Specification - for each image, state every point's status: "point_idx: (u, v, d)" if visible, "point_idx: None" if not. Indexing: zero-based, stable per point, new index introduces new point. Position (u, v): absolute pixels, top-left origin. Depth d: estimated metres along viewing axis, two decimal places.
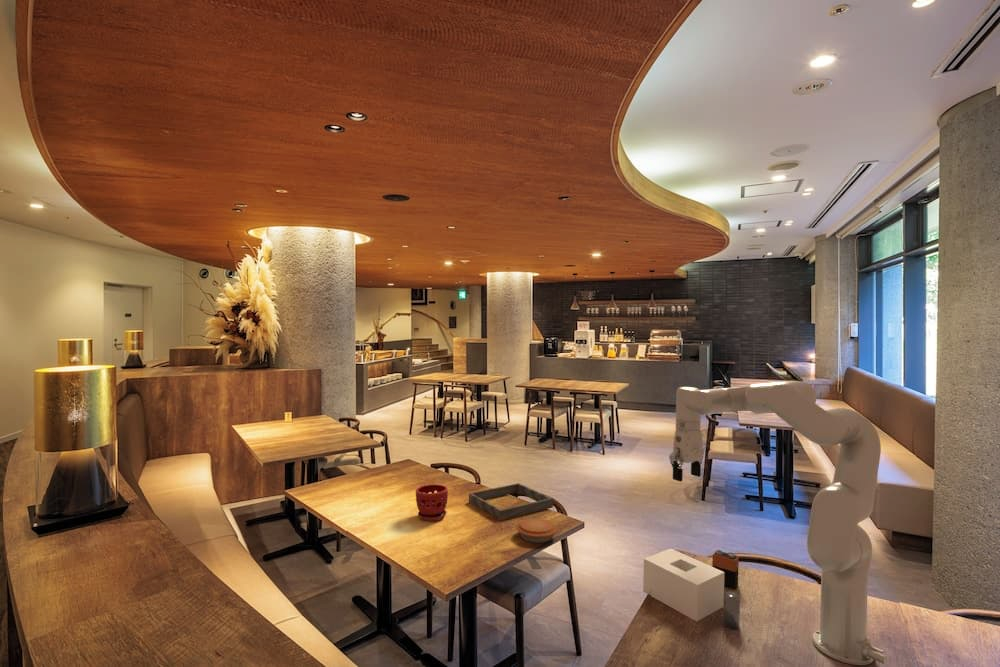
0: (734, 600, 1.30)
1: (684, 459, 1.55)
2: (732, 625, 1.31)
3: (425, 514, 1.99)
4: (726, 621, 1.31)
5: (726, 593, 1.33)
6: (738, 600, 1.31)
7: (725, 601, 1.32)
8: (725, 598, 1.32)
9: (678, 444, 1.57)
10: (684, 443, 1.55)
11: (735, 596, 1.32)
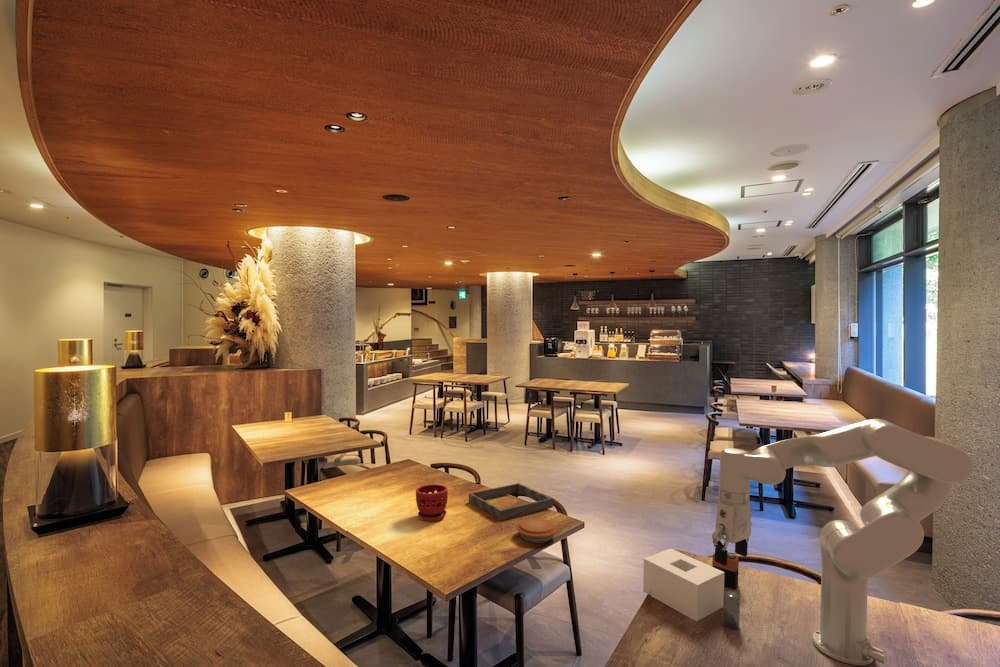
0: (734, 600, 1.30)
1: (730, 539, 1.28)
2: (732, 625, 1.31)
3: (425, 514, 1.99)
4: (726, 621, 1.31)
5: (726, 593, 1.33)
6: (738, 600, 1.31)
7: (725, 601, 1.32)
8: (725, 598, 1.32)
9: (722, 520, 1.29)
10: (730, 520, 1.28)
11: (735, 596, 1.32)
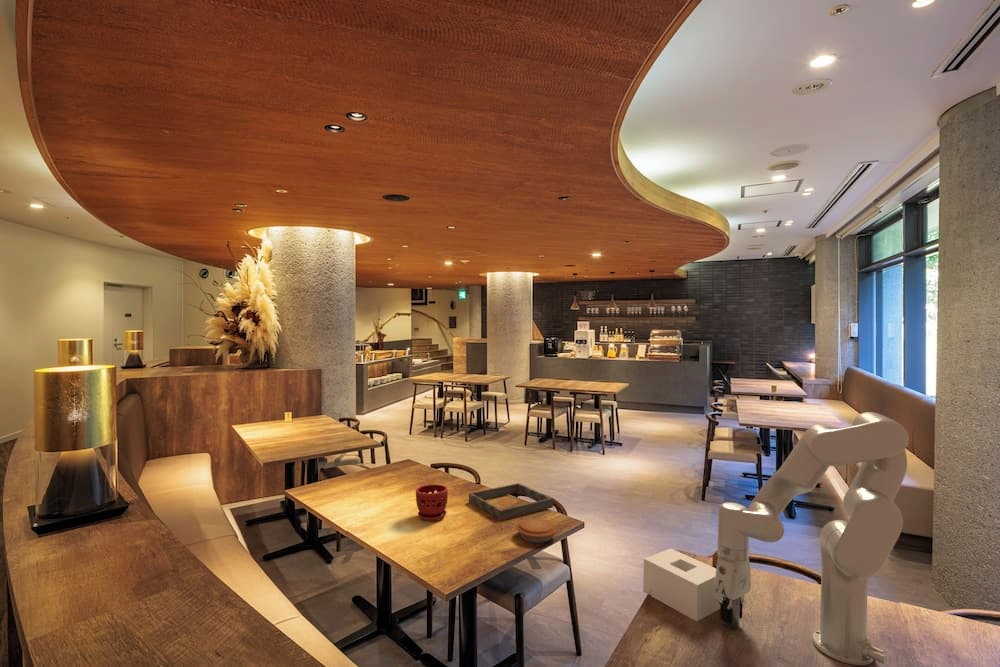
0: (734, 600, 1.30)
1: (730, 596, 1.28)
2: (732, 625, 1.31)
3: (425, 514, 1.99)
4: None
5: None
6: (738, 600, 1.31)
7: None
8: (725, 598, 1.32)
9: (721, 576, 1.29)
10: (730, 577, 1.28)
11: None
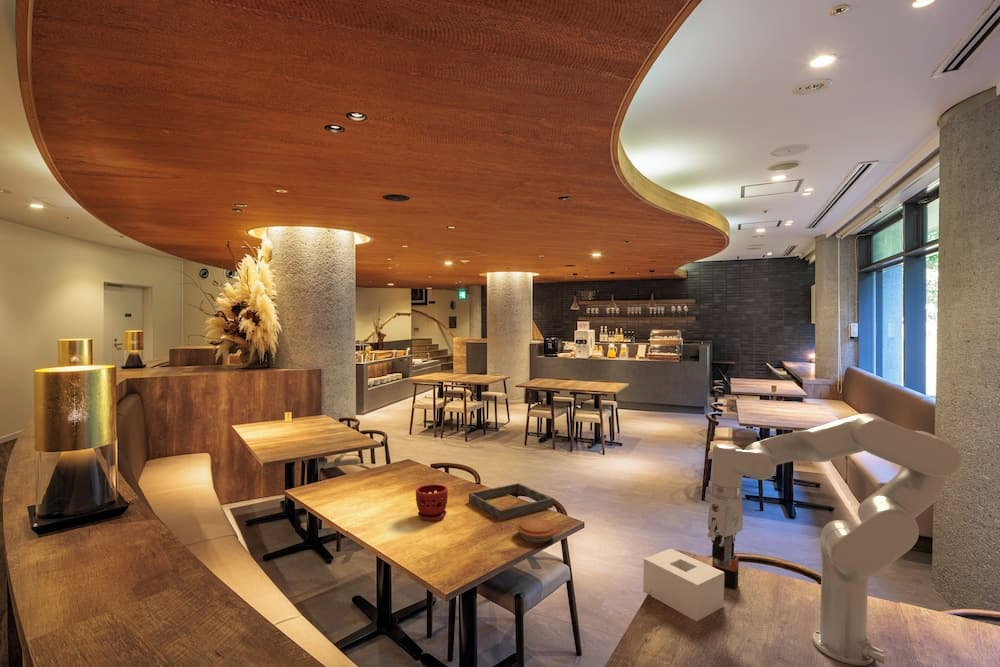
0: (726, 537, 1.32)
1: (722, 533, 1.29)
2: (724, 562, 1.32)
3: (425, 514, 1.99)
4: None
5: None
6: (730, 538, 1.33)
7: None
8: (717, 536, 1.34)
9: (714, 514, 1.31)
10: (722, 514, 1.30)
11: None
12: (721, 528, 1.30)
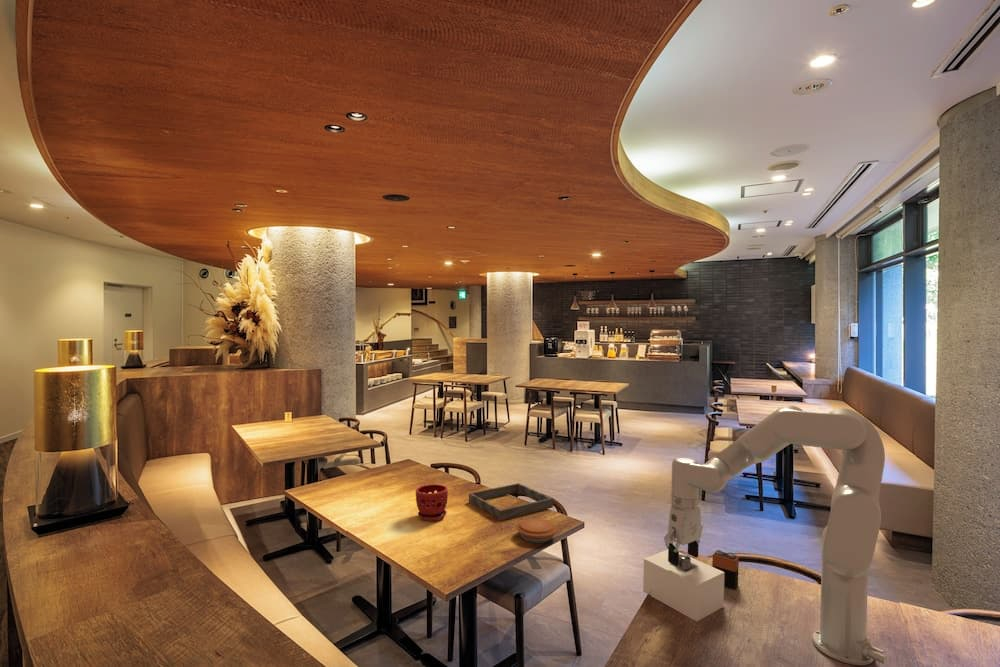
0: (685, 561, 1.43)
1: (680, 541, 1.40)
2: None
3: (425, 514, 1.99)
4: None
5: None
6: (688, 561, 1.43)
7: None
8: None
9: (673, 524, 1.42)
10: (680, 523, 1.40)
11: (686, 558, 1.44)
12: (679, 537, 1.40)
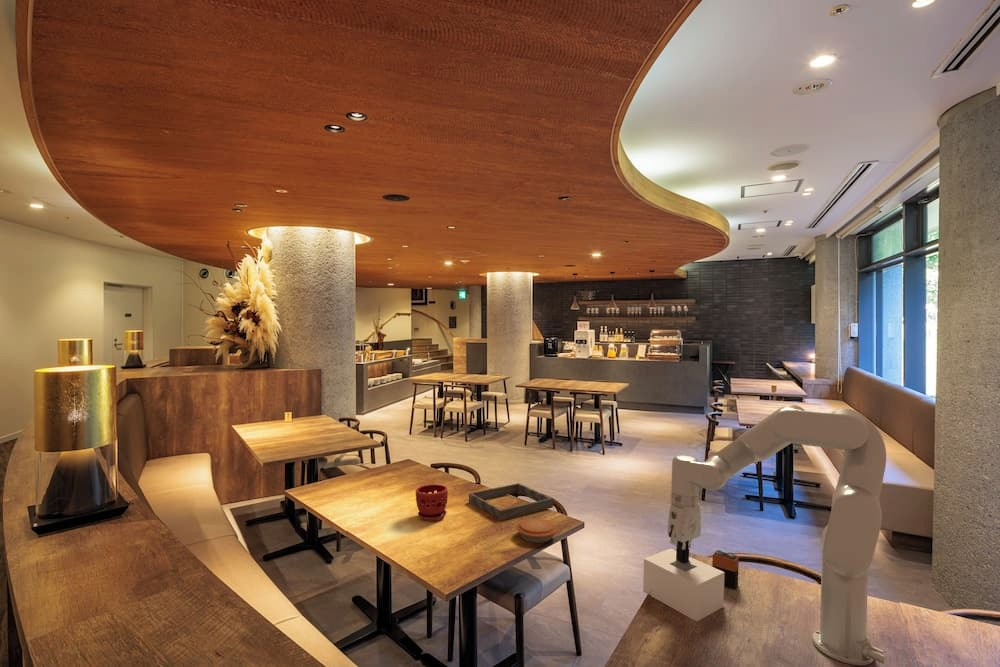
0: (684, 564, 1.43)
1: (680, 539, 1.40)
2: None
3: (425, 514, 1.99)
4: None
5: None
6: (688, 565, 1.43)
7: (677, 566, 1.44)
8: (677, 563, 1.44)
9: (673, 521, 1.42)
10: (680, 521, 1.40)
11: None
12: (679, 534, 1.40)
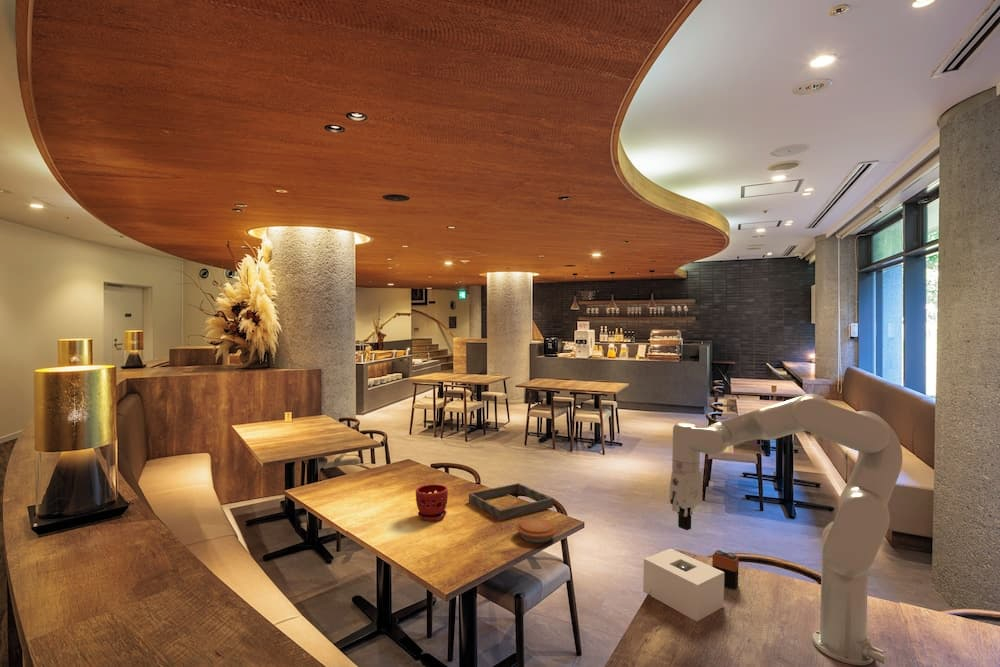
0: (684, 570, 1.43)
1: (682, 505, 1.40)
2: None
3: (425, 514, 1.99)
4: None
5: (678, 564, 1.46)
6: (688, 570, 1.43)
7: None
8: None
9: (675, 488, 1.42)
10: (681, 487, 1.40)
11: (686, 567, 1.44)
12: (680, 500, 1.40)
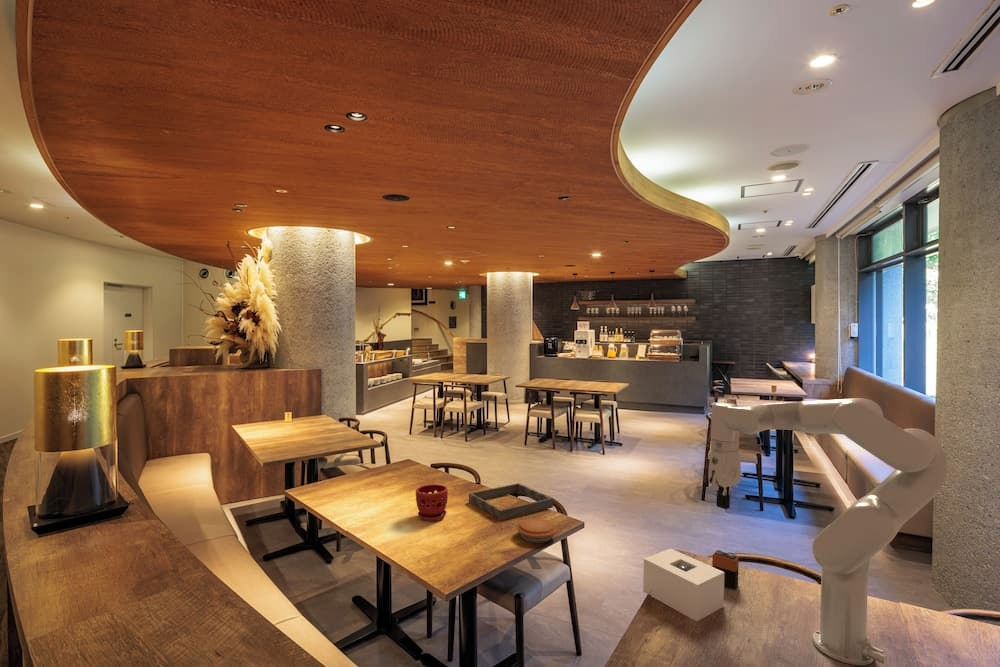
0: (684, 570, 1.43)
1: (721, 483, 1.41)
2: None
3: (425, 514, 1.99)
4: None
5: (678, 564, 1.46)
6: (688, 570, 1.43)
7: None
8: None
9: (714, 467, 1.42)
10: (721, 466, 1.41)
11: (686, 567, 1.44)
12: (720, 479, 1.41)
